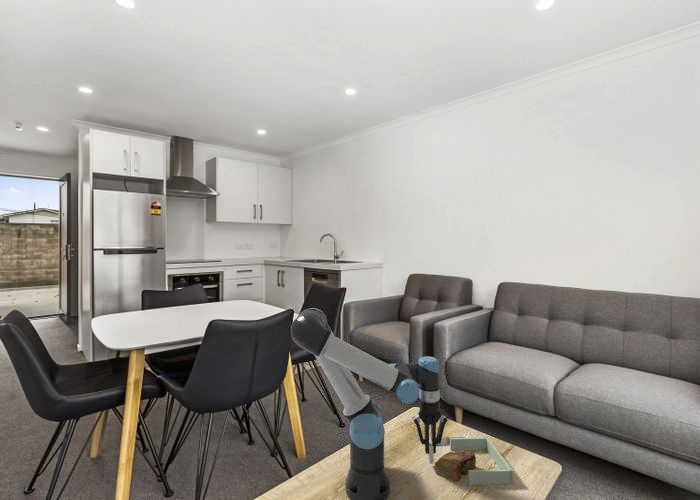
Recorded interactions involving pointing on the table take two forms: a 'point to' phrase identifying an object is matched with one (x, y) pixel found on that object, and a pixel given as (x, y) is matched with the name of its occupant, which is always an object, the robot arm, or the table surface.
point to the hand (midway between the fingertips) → (430, 461)
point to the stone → (455, 465)
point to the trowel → (447, 440)
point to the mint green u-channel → (482, 443)
